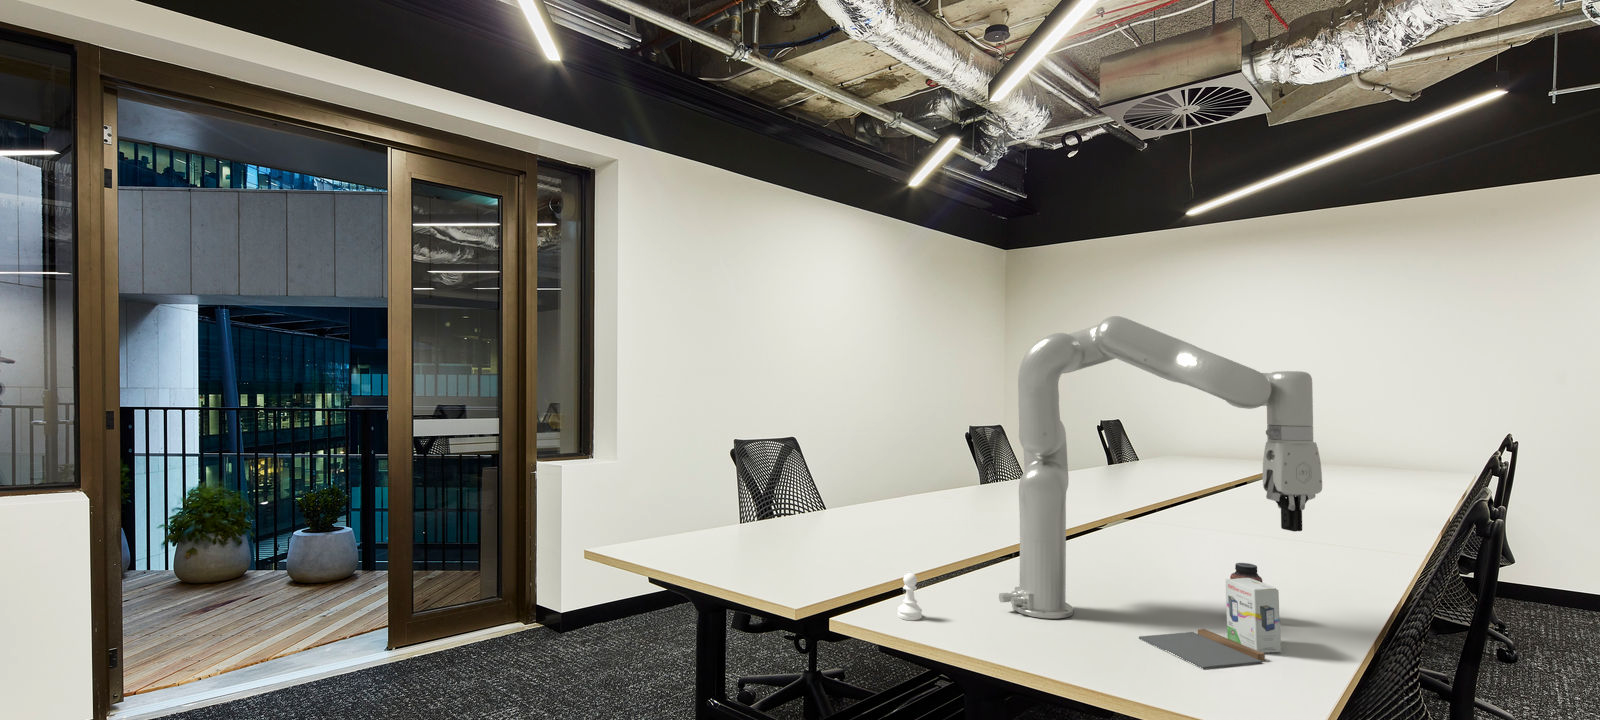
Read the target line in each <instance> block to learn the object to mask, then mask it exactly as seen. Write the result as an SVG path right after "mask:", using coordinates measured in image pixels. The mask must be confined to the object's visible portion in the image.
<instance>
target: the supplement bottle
mask: <svg viewBox="0 0 1600 720" xmlns="http://www.w3.org/2000/svg"><path fill="white" fill-rule="evenodd" d="M1234 569H1235V572H1232V573H1231V574H1230V578H1229V579H1238V578H1251V579H1254V580H1257V581H1259V582H1262V583H1264V582H1263V578H1262V576H1260V575H1259V574H1258V565H1256V564H1253V563H1247V562H1236V563H1235V567H1234Z"/></svg>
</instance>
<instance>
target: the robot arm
mask: <svg viewBox="0 0 1600 720" xmlns="http://www.w3.org/2000/svg"><path fill="white" fill-rule="evenodd" d="M1115 359H1117V360H1118V361H1120V362H1121V361H1122V362H1124V363H1126V364H1129V365H1131V366H1134V367H1136V368H1138V369H1140V370H1143V371H1145V372H1148V373H1149V374H1152V375H1155V376H1157V377H1159V378H1162V379H1165V380H1167V381H1169V382H1174V383H1178V384H1182V385H1187V386H1189V387H1191V388H1195V389H1196V390H1199V391H1202V392H1205V393H1208V395H1212V396H1215V397H1217V398H1219V399H1221V400H1222V401H1223V400H1224V401H1226V403H1228V404H1229V405H1231V406H1233V407H1235V408H1239V409H1246V410H1247V409H1248V410H1249V409H1250V410H1251V409H1252V410H1253V409H1257V408H1259V407H1265V406H1266V430H1265V435H1266V437H1267V439H1266V442H1265V445H1264V451H1263V460H1262V486H1263V489H1264V491H1266V499H1267V500H1270V501H1274V502H1275V503H1276V504H1277V507H1278V509H1280V528H1281V529H1282V530H1285V531H1290V532H1293V533H1294V532H1302V531H1303V510H1305V508H1306V504H1307V502H1308V501H1310V500H1314V499H1316V495H1318V494H1320V493H1321V492H1322V490H1323V475H1322V474H1323V472H1322V464H1321V462H1322V461H1321V457H1320V451H1319V447H1318V445H1317V442H1316V441H1315V442H1314V410H1313V409H1314V405H1313V402H1314V398H1313V378H1312V376H1311V375H1312V374H1310V373H1308V372H1307V371H1298V370H1296V371H1292V370H1290V371H1289V370H1284V371H1283V370H1281V371H1273V372H1261V371H1259V370H1256V369H1254V368H1251V367H1250V366H1246V365H1243V364H1242V363H1239V362H1236V361H1234V360H1231V359H1229V358H1226V357H1224V356H1221V355H1219V354H1216V353H1213V352H1210V351H1208V350H1205V349H1202V348H1200V347H1198V346H1196V345H1194V344H1192V343H1189V342H1187V341H1185V340H1182V339H1179V338H1176V337H1174V336H1172V335H1169V334H1166V333H1164V332H1161V331H1159V330H1158V329H1157V330H1156V329H1155V328H1151V327H1150V326H1147V325H1144V324H1141V323H1139V322H1136V321H1134V320H1131V319H1129V318H1127V317H1122V316H1117V315H1115V316H1114V315H1113V316H1108V317H1105V319H1103V320H1102V321H1101V322H1100V323H1099V324H1097V325H1093V326H1091V327H1088V328H1085V329H1081V330H1077V331H1075V332H1072V333H1066V332H1065V333H1064V332H1057V333H1052V334H1049V335H1047V336H1045V337H1043V338H1042V339H1040V340H1038V341H1037V342H1036V343H1034V344H1033V345H1032V346H1031V347H1030V348H1029V349H1028V350H1027V352H1026V353H1025V355H1024V356H1023V358H1022V360H1021V363H1020V366H1019V369H1018V376H1017V377H1018V378H1017V390H1018V391H1017V393H1018V395H1017V397H1018V401H1017V403H1018V404H1017V405H1018V439H1019V444H1020V445H1021V447H1022V449H1023V462H1024V471H1023V473H1022V474H1021V476H1020V479H1019V484H1018V505H1019V586H1014V590H1013V591H1012V592H1001V593H999V594H998V601H999V602H1000V603H1010V604H1011V608H1012V609H1013V610H1014V611H1016V612H1017V613H1019V614H1022V615H1024V616H1029V617H1033V618H1034V617H1035V618H1039V619H1049V620H1050V619H1057V620H1058V619H1064V618H1065V619H1066V618H1069V617H1071V616H1072V615H1073V614H1074V607H1073V606H1072V605H1071V604H1069V603H1067V602H1066V599H1067V595H1066V591H1067V590H1066V589H1067V586H1066V585H1067V584H1066V583H1067V582H1066V576H1067V573H1066V572H1067V568H1066V567H1067V535H1066V534H1067V533H1066V532H1067V526H1066V525H1067V509H1066V508H1067V507H1066V506H1067V491H1068V488H1069V480H1070V479H1069V466H1068V465H1069V464H1068V448H1067V447H1068V444H1067V432H1066V427H1065V425H1064V424H1063V422H1062V421H1061V417H1060V414H1061V413H1060V392H1059V391H1060V390H1059V380H1060V377H1061V375H1063V374H1069V373H1074V372H1076V371H1080V370H1083V369H1086V368H1089V367H1093V366H1096V365H1100V364H1104V363H1106V362H1110V361H1112V360H1115Z"/></svg>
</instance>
